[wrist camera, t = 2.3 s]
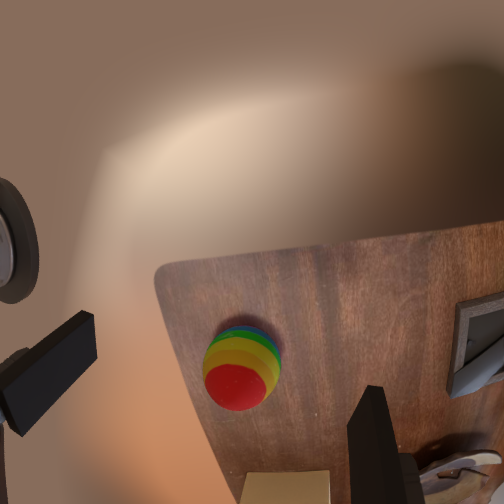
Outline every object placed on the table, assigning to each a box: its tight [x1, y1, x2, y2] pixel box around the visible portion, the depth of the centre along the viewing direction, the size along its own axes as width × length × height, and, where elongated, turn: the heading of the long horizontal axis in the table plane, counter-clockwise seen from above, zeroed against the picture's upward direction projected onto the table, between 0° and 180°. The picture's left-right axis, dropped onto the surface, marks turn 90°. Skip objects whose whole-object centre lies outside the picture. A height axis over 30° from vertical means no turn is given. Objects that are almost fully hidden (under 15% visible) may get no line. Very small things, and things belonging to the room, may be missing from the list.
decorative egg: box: [203, 326, 281, 411], centre depth 32 cm, size 8×8×10 cm
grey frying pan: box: [418, 449, 502, 504], centre depth 36 cm, size 22×30×8 cm
